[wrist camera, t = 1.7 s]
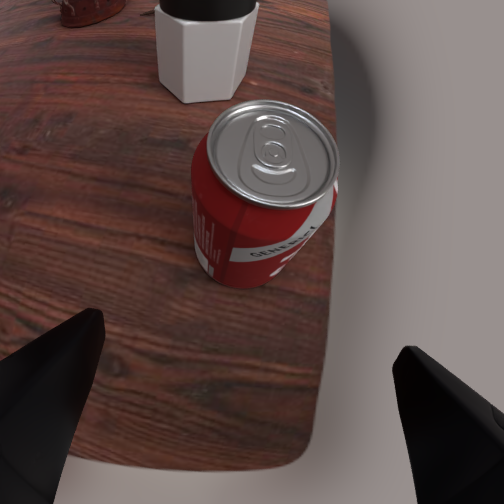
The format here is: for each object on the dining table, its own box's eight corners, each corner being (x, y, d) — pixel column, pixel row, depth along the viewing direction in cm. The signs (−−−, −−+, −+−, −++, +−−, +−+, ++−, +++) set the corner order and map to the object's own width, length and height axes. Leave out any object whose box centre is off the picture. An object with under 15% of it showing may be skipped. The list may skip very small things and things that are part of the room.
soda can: (192, 289, 22) (181, 217, 10) (197, 202, 24) (199, 84, 13) (286, 292, 23) (364, 229, 11) (283, 207, 25) (340, 102, 14)
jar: (238, 54, 31) (254, -35, 19) (252, 100, 28) (277, -3, 17) (159, 60, 29) (155, -32, 17) (160, 108, 26) (151, -1, 15)
